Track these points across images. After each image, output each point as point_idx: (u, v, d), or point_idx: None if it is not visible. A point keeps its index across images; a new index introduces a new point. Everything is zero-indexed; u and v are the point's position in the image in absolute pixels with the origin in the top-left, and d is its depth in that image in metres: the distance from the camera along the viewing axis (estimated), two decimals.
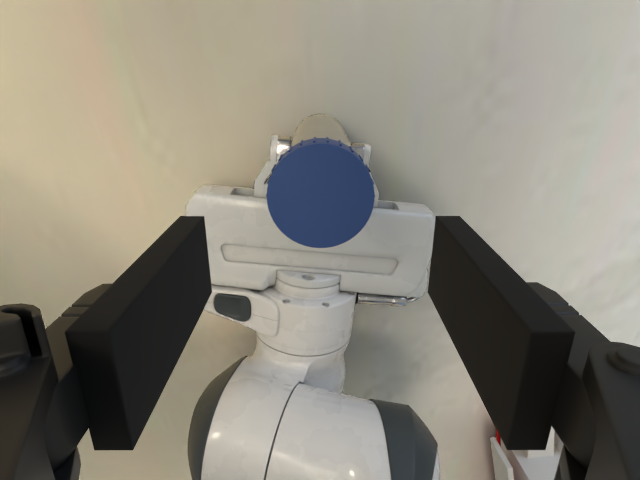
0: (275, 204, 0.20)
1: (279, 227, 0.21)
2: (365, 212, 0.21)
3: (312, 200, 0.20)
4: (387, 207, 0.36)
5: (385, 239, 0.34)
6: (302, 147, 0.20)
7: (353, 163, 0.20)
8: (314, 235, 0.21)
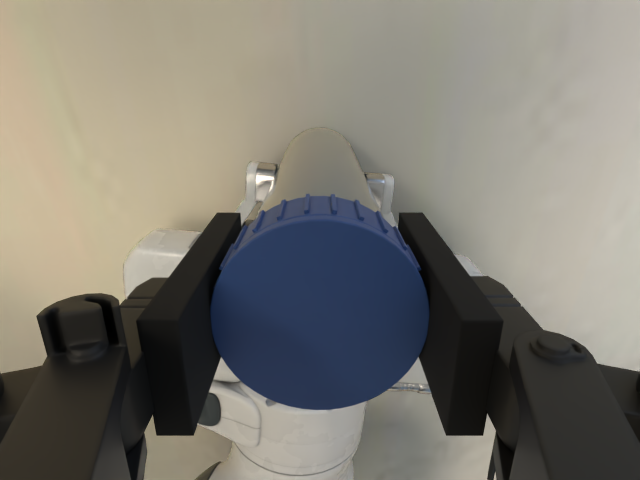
0: (228, 334, 0.10)
1: (238, 375, 0.11)
2: (410, 349, 0.10)
3: (303, 327, 0.10)
4: None
5: None
6: (281, 227, 0.09)
7: (388, 258, 0.09)
8: (307, 388, 0.11)
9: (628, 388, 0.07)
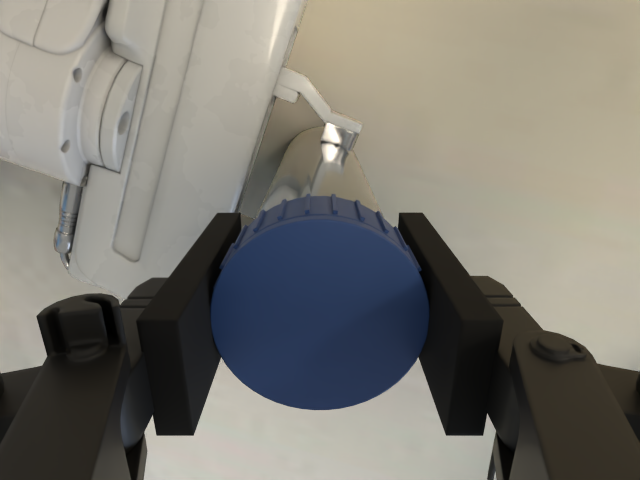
0: (228, 334, 0.10)
1: (237, 374, 0.11)
2: (409, 349, 0.10)
3: (303, 327, 0.10)
4: None
5: (173, 252, 0.22)
6: (281, 226, 0.09)
7: (389, 259, 0.09)
8: (307, 388, 0.11)
9: (628, 388, 0.07)
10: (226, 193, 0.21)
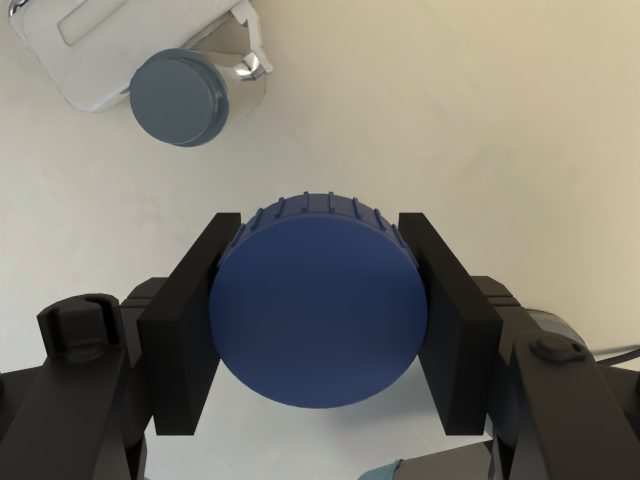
0: (226, 333, 0.10)
1: (236, 373, 0.11)
2: (408, 347, 0.10)
3: (301, 326, 0.10)
4: None
5: (100, 58, 0.29)
6: (278, 224, 0.09)
7: (386, 256, 0.09)
8: (305, 387, 0.11)
9: (628, 388, 0.07)
10: (162, 46, 0.29)
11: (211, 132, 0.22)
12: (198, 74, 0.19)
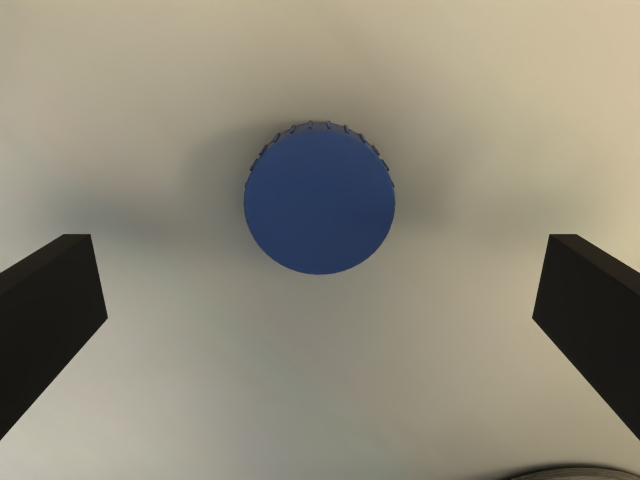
0: (256, 216, 0.15)
1: (262, 247, 0.15)
2: (381, 226, 0.15)
3: (308, 210, 0.15)
4: None
5: None
6: (293, 136, 0.14)
7: (365, 158, 0.14)
8: (311, 257, 0.15)
9: None
10: None
11: None
12: None
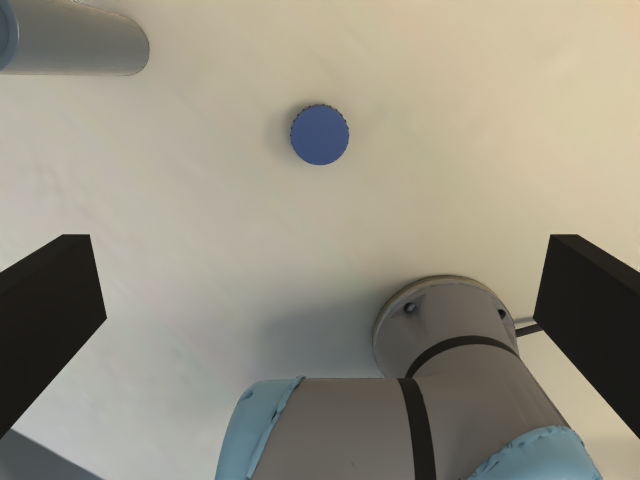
0: (295, 139, 0.38)
1: (297, 153, 0.39)
2: (343, 144, 0.38)
3: (315, 137, 0.38)
4: None
5: None
6: (310, 108, 0.37)
7: (337, 116, 0.37)
8: (316, 157, 0.39)
9: None
10: None
11: (6, 56, 0.22)
12: None
